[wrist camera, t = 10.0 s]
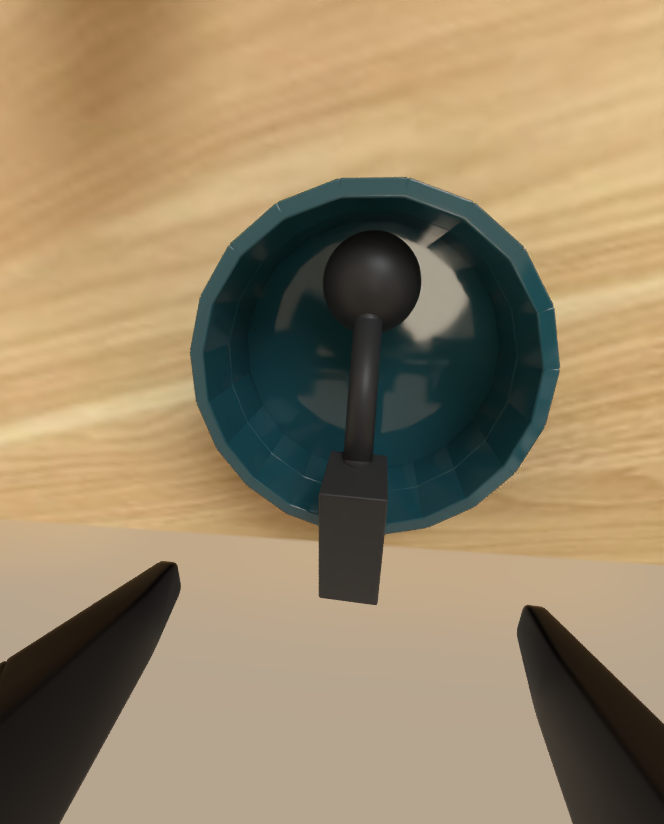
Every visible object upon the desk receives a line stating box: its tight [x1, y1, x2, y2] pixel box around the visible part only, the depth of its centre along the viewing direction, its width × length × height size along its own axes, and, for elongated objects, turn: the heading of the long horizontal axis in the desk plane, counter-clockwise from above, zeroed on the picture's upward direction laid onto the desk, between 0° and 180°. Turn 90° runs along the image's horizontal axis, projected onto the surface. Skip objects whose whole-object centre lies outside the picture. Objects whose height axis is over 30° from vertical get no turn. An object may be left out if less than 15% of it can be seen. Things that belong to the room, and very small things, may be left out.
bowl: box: [190, 177, 560, 534], centre depth 14 cm, size 12×12×5 cm
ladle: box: [319, 230, 421, 605], centre depth 13 cm, size 12×4×8 cm, turn 179°
